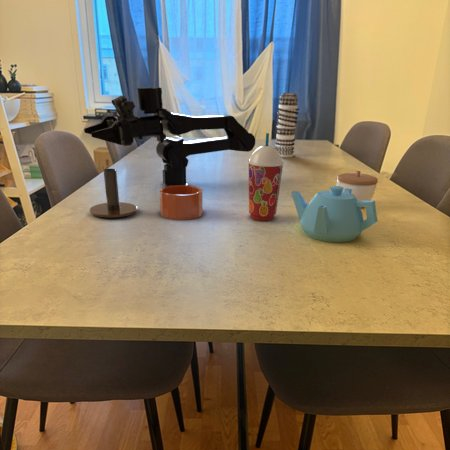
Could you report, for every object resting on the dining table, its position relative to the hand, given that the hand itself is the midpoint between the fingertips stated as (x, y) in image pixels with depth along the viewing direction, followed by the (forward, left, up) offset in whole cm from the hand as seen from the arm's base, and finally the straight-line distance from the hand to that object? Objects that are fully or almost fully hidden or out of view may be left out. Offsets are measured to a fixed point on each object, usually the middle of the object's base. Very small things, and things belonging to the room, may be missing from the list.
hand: (87, 132), depth 119 cm
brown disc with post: (-1, +22, -16) cm, 27 cm away
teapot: (-44, +54, -17) cm, 72 cm away
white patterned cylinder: (-88, -41, -17) cm, 99 cm away
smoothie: (-35, +38, -17) cm, 55 cm away
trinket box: (-65, +36, -17) cm, 77 cm away
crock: (-17, +28, -17) cm, 37 cm away
